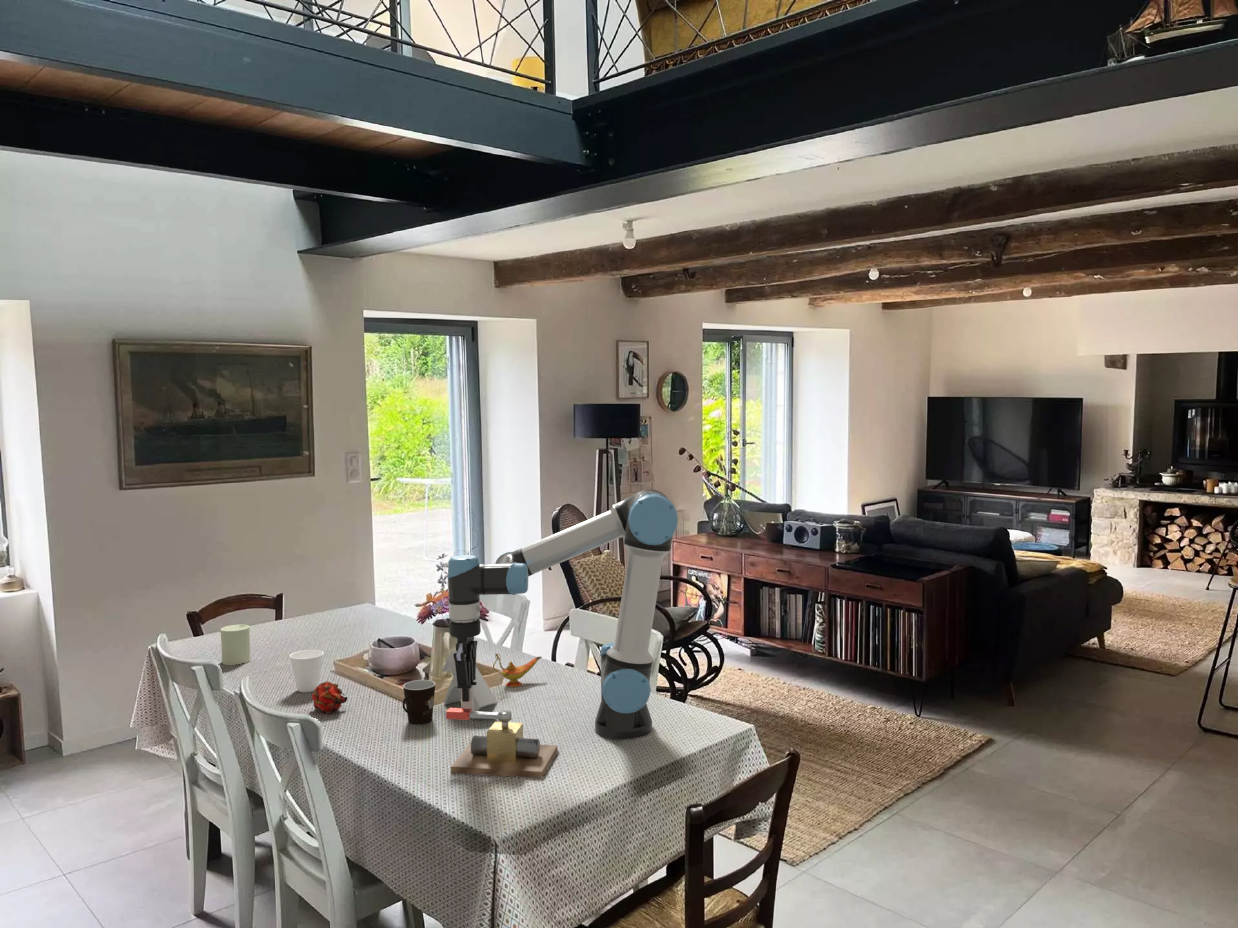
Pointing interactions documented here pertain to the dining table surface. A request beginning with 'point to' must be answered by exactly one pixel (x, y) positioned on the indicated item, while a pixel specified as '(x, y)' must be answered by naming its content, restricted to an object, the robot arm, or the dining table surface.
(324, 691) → the dragon fruit
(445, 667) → the grey a-frame
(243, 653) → the can
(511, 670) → the magic lamp
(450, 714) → the valve lever
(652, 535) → the robot arm
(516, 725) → the ball valve
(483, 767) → the valve board
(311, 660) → the cup
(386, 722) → the dining table surface
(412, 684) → the coffee mug
